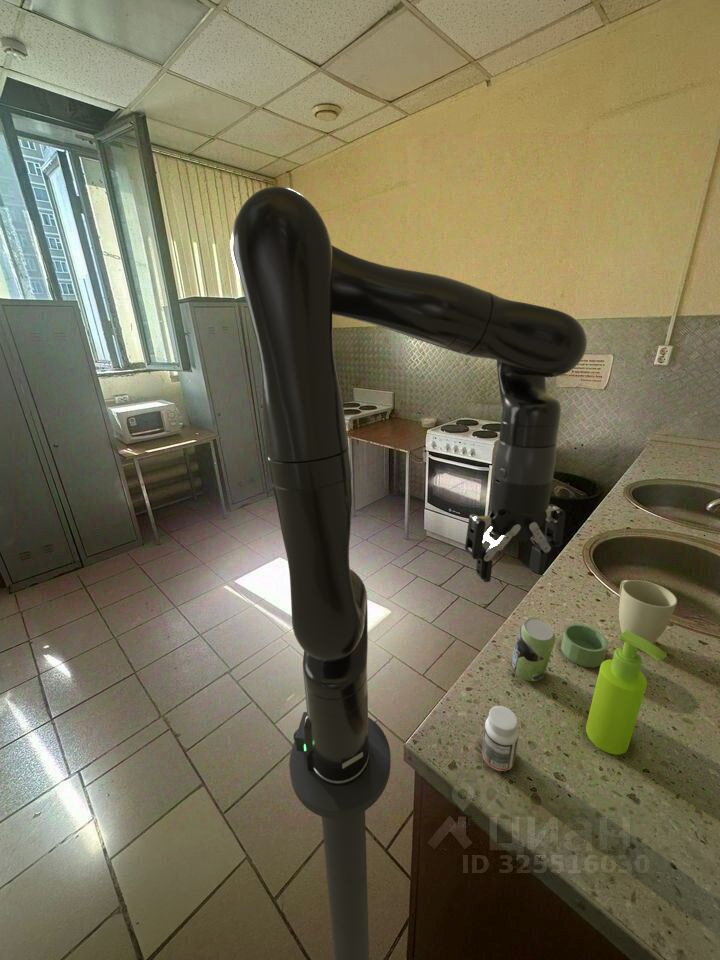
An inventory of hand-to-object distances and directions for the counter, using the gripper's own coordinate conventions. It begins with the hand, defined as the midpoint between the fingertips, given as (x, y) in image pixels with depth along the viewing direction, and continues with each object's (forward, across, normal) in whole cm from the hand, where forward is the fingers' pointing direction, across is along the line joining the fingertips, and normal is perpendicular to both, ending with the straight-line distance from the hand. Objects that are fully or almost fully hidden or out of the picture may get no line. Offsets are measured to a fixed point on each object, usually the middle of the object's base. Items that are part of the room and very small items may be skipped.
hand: (510, 575), depth 59 cm
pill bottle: (+27, +4, +8) cm, 29 cm away
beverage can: (+28, -10, -5) cm, 30 cm away
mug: (+28, -38, -9) cm, 47 cm away
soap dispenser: (+27, -15, +9) cm, 33 cm away
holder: (+27, -24, -7) cm, 37 cm away
